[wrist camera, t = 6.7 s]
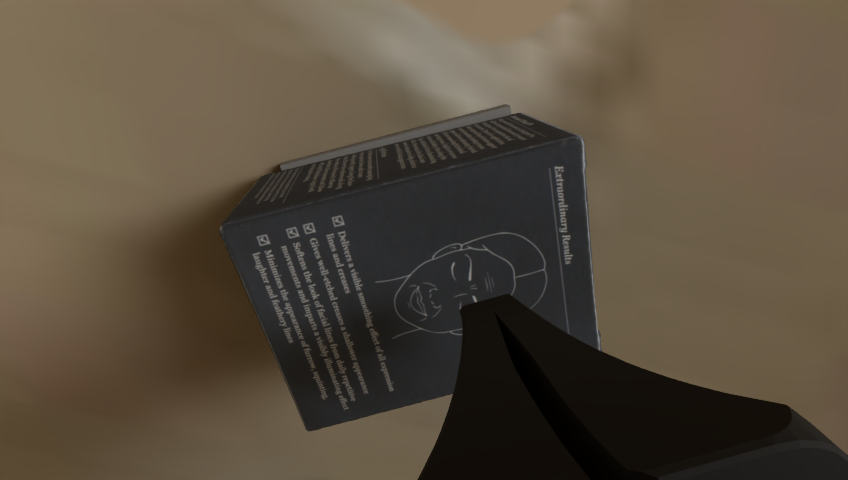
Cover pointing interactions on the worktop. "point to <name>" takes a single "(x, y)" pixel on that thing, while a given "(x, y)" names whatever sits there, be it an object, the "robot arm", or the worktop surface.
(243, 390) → the worktop surface
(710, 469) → the robot arm
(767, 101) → the worktop surface
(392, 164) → the box
